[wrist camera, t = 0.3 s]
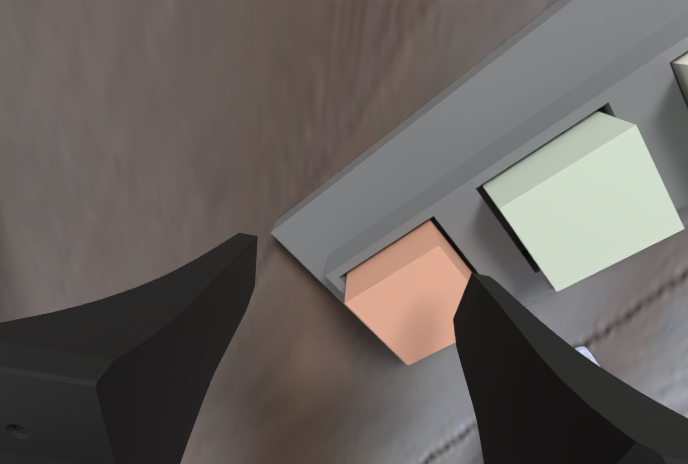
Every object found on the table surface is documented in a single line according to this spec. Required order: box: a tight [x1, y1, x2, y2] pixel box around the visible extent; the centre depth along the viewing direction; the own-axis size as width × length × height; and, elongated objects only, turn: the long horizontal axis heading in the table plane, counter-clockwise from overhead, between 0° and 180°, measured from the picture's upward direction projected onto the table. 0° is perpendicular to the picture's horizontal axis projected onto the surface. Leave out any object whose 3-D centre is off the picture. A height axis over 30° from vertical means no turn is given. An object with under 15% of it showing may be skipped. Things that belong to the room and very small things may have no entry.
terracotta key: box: [345, 219, 472, 366], centre depth 18 cm, size 5×5×2 cm
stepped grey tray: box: [271, 0, 688, 366], centre depth 18 cm, size 13×26×4 cm, turn 130°
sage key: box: [482, 111, 684, 292], centre depth 16 cm, size 5×5×2 cm
